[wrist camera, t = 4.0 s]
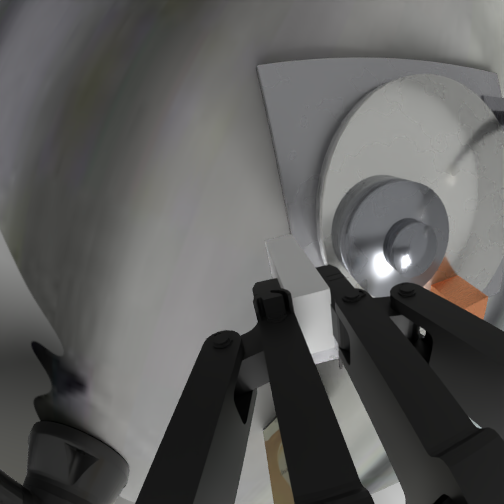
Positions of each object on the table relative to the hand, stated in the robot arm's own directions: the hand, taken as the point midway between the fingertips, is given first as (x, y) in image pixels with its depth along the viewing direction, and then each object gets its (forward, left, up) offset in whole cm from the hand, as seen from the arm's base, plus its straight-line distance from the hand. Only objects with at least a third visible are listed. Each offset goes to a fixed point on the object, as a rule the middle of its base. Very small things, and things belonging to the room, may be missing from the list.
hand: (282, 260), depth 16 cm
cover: (+7, 0, -1) cm, 7 cm away
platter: (+13, 0, -3) cm, 13 cm away
